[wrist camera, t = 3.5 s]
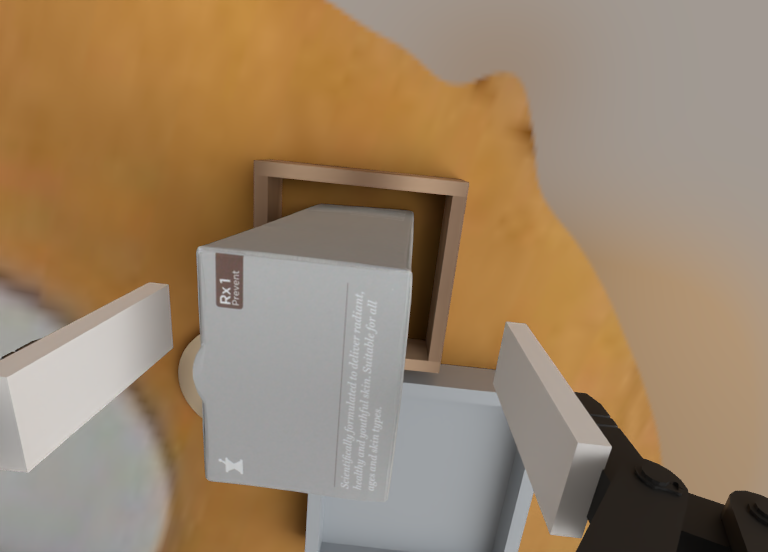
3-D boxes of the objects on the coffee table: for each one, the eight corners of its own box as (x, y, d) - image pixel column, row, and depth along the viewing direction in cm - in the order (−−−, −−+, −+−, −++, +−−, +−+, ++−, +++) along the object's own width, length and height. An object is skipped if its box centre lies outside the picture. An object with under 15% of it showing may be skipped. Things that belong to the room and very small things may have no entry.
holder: (267, 333, 29) (253, 353, 26) (270, 159, 25) (253, 160, 22) (435, 351, 29) (439, 373, 26) (461, 179, 25) (469, 182, 22)
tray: (311, 538, 34) (303, 573, 31) (323, 351, 29) (314, 372, 26) (497, 558, 34) (506, 596, 31) (542, 374, 29) (558, 399, 26)
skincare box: (404, 323, 28) (411, 521, 13) (304, 314, 28) (194, 500, 13) (417, 203, 26) (443, 274, 11) (307, 193, 26) (176, 250, 11)
